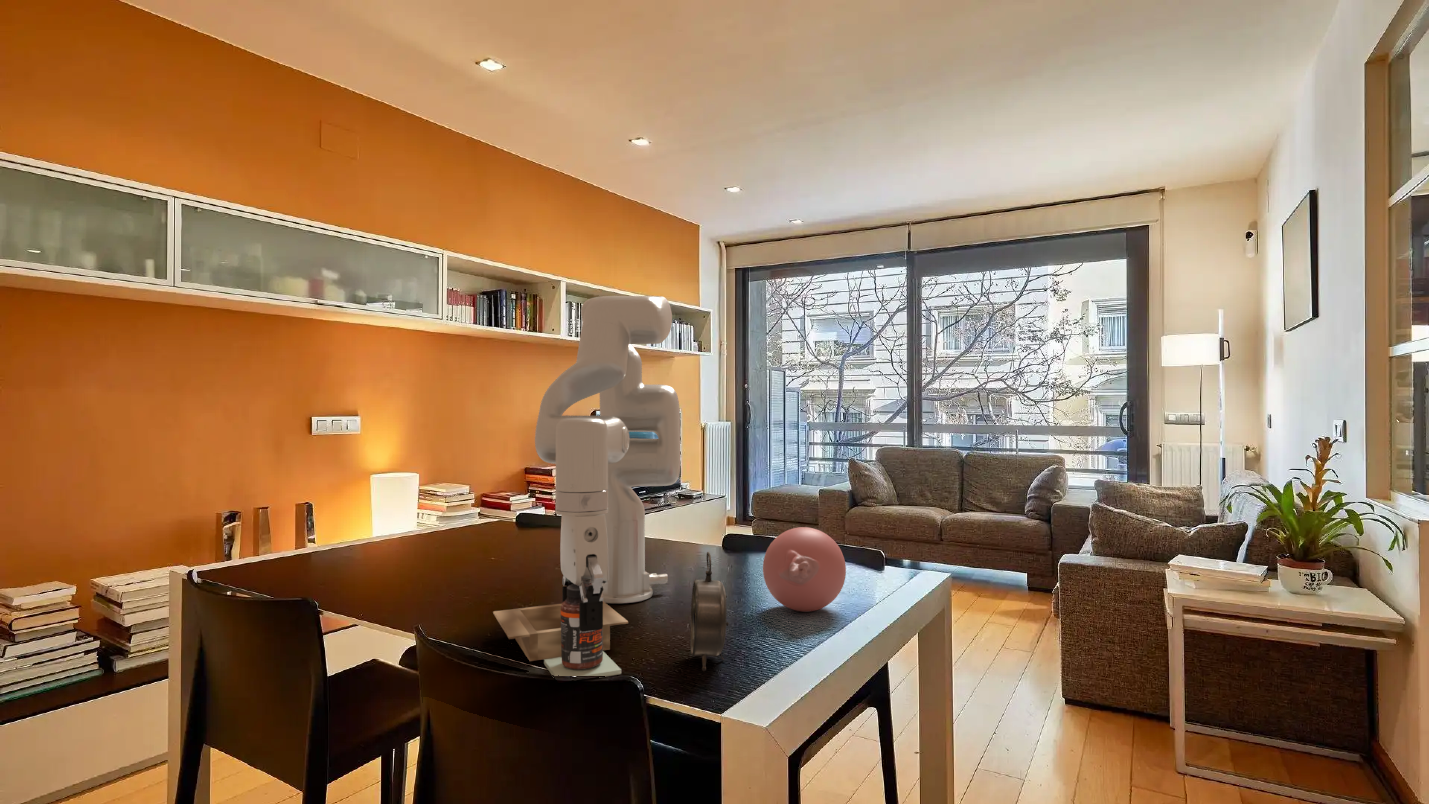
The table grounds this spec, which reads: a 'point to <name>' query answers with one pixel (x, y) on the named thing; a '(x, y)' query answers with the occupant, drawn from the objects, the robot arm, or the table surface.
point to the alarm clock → (708, 617)
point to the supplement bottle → (578, 635)
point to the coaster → (602, 669)
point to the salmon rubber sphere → (804, 569)
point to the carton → (546, 628)
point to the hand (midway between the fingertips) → (581, 620)
